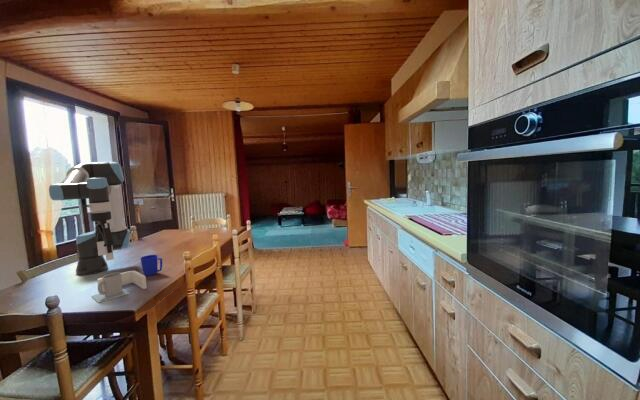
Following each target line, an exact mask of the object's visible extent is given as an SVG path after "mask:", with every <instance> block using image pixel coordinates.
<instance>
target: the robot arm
mask: <svg viewBox="0 0 640 400" xmlns="http://www.w3.org/2000/svg"><path fill="white" fill-rule="evenodd" d="M65 176H66V177H65V178H63V180H62V181H61V182H60V183H52V184H50V185H49V188H48V192H49V197H50V199H51V200H52V201H61V202H62V201H70V200H83V199H84V200H85V199H88V204H89V205H88V206H87V208H89V212H90V220H91V222H94V225H95V227H94V230H93V231H88V232H84V233H81V234H79V235H77V236H76V239H75V245H76V250H77V251H76V252H77V259H78V261H77V265H76V268H75V274H76V275H77V276H85V275H92V274H93V275H94V274H96V273H97V274H98V273H101V272H104V271H106V270H107V269H108V268H109V265H108V262H107V261H111V260H114V259H115V257H114V251H122V250H124V249H126V250H127V249H128V248H129V247H130V239H131V229H128V227H127V226H126V225H125V224H124V217H123V207H122V201H121V192H120V187H121V186H122V184H123V183H122V182H124V181H125V178H124V172H123V169H122V166H121V164H120V163H119V162H117V161H93V162H89V161H88V162H82V163H79V164H77V165H74V166H72V167H70V168H69V169H68V170H67V171H66V174H65ZM104 255H105V256H104ZM104 257H105V258H104Z"/></svg>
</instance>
